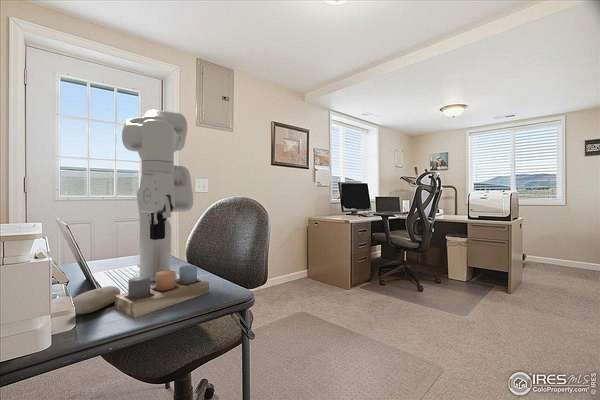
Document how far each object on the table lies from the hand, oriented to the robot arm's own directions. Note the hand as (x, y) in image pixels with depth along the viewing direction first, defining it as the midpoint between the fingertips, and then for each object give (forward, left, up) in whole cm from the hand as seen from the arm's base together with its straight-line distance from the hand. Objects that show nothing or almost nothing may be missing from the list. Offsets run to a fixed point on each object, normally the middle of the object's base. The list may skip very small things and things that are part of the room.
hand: (157, 238), depth 75 cm
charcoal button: (0, -4, -14) cm, 14 cm away
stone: (-8, -11, -17) cm, 22 cm away
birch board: (0, +3, -17) cm, 17 cm away
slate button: (0, +10, -14) cm, 17 cm away
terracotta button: (0, +3, -14) cm, 14 cm away
